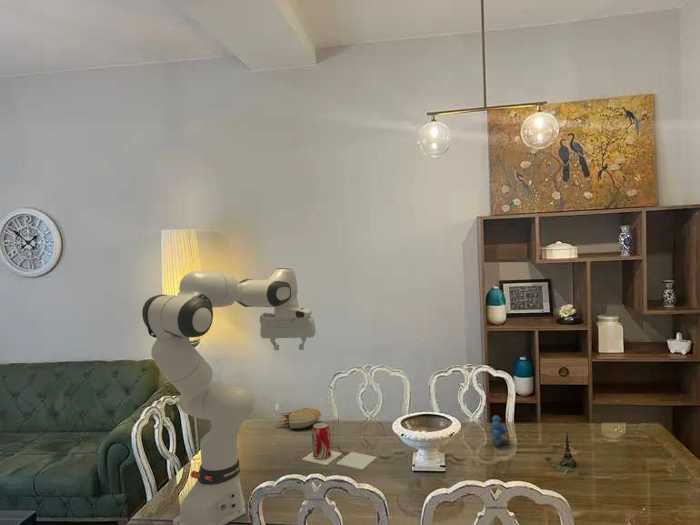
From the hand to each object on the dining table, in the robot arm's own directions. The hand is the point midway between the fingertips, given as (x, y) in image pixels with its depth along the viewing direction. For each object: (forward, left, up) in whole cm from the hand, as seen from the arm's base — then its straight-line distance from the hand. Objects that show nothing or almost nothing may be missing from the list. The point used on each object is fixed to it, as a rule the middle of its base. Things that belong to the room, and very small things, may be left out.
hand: (289, 349), depth 185 cm
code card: (+10, -6, -43) cm, 44 cm away
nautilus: (+32, +23, -43) cm, 58 cm away
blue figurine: (+48, -63, -43) cm, 90 cm away
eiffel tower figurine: (+41, -87, -44) cm, 106 cm away
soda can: (+10, -6, -43) cm, 44 cm away
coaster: (+12, -20, -43) cm, 48 cm away
